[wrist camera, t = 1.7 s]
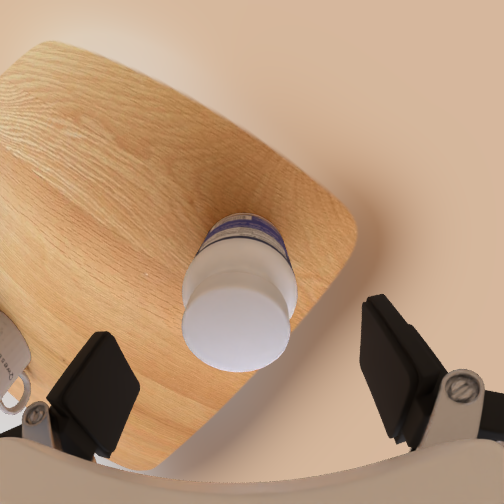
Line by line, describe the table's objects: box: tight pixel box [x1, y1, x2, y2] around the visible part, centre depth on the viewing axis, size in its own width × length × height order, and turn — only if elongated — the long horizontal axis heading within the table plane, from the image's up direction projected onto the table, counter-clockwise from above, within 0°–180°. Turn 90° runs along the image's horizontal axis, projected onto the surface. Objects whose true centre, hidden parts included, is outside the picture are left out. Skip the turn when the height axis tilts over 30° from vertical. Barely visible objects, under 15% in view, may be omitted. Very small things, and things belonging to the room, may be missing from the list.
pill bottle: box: [182, 213, 297, 372], centre depth 14 cm, size 5×5×9 cm
